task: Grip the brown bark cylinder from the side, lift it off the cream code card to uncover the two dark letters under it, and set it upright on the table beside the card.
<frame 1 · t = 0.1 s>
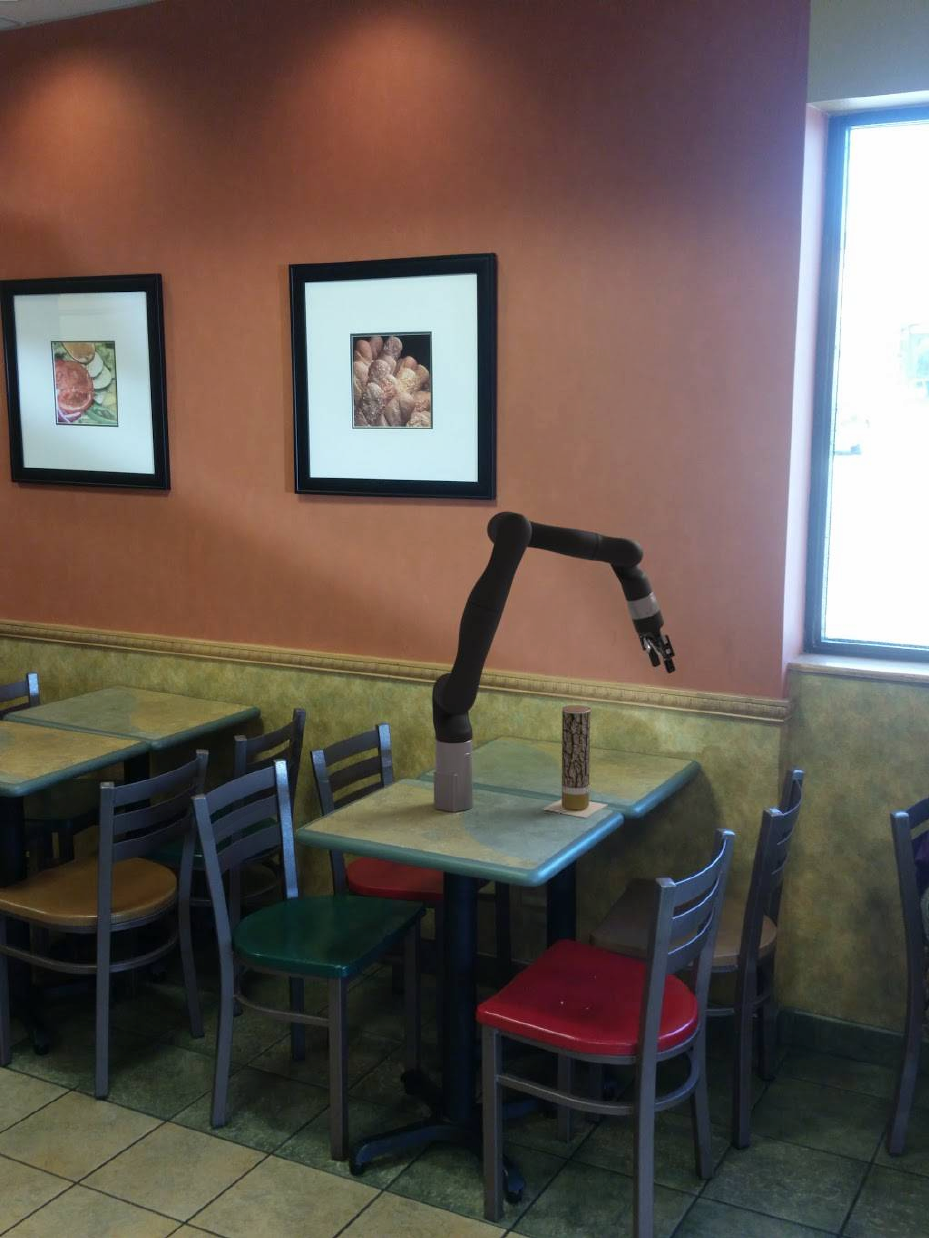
hand: (664, 668, 318), 31 cm above the table, tool tilted 20°, fingers open, 8 cm apart
code card: (575, 807, 305), on the table
brown bark cylinder: (575, 807, 305), resting on code card
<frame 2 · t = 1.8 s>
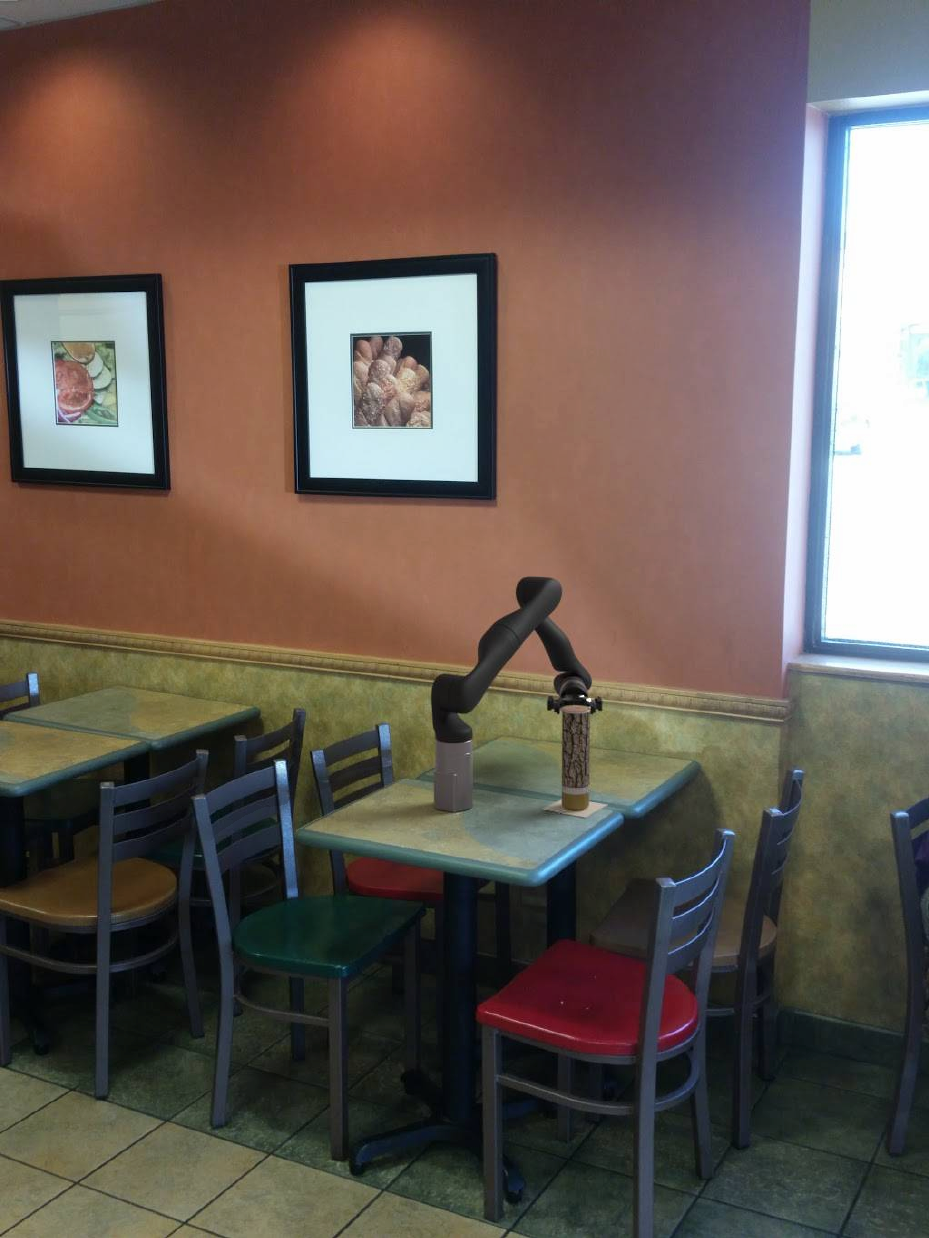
hand: (575, 710, 312), 22 cm above the table, tool horizontal, fingers open, 8 cm apart
nothing on the table moved.
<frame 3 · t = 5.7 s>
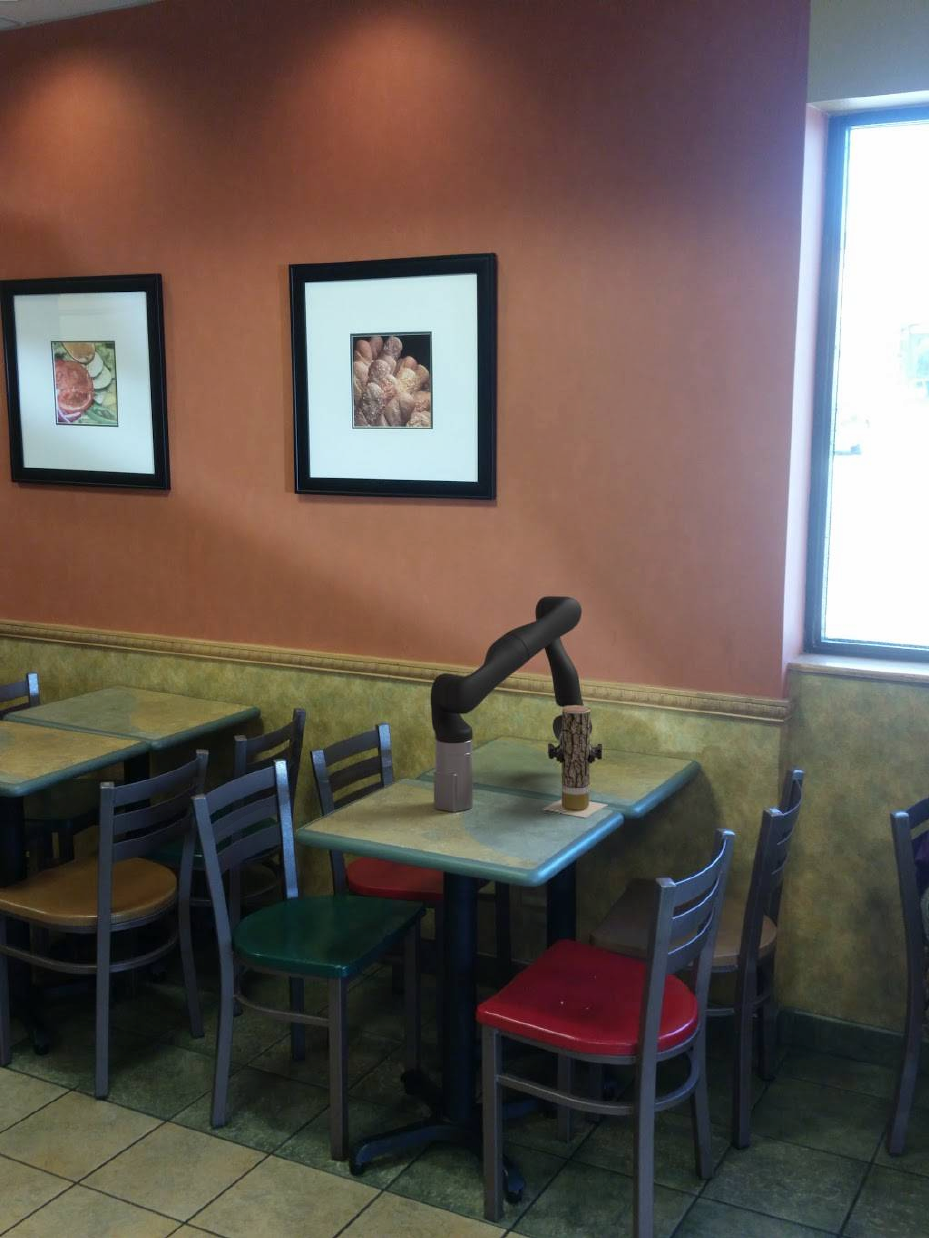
hand: (576, 759, 301), 13 cm above the table, tool horizontal, fingers closed on brown bark cylinder, 7 cm apart
brown bark cylinder: (575, 807, 305), resting on code card, touching gripper
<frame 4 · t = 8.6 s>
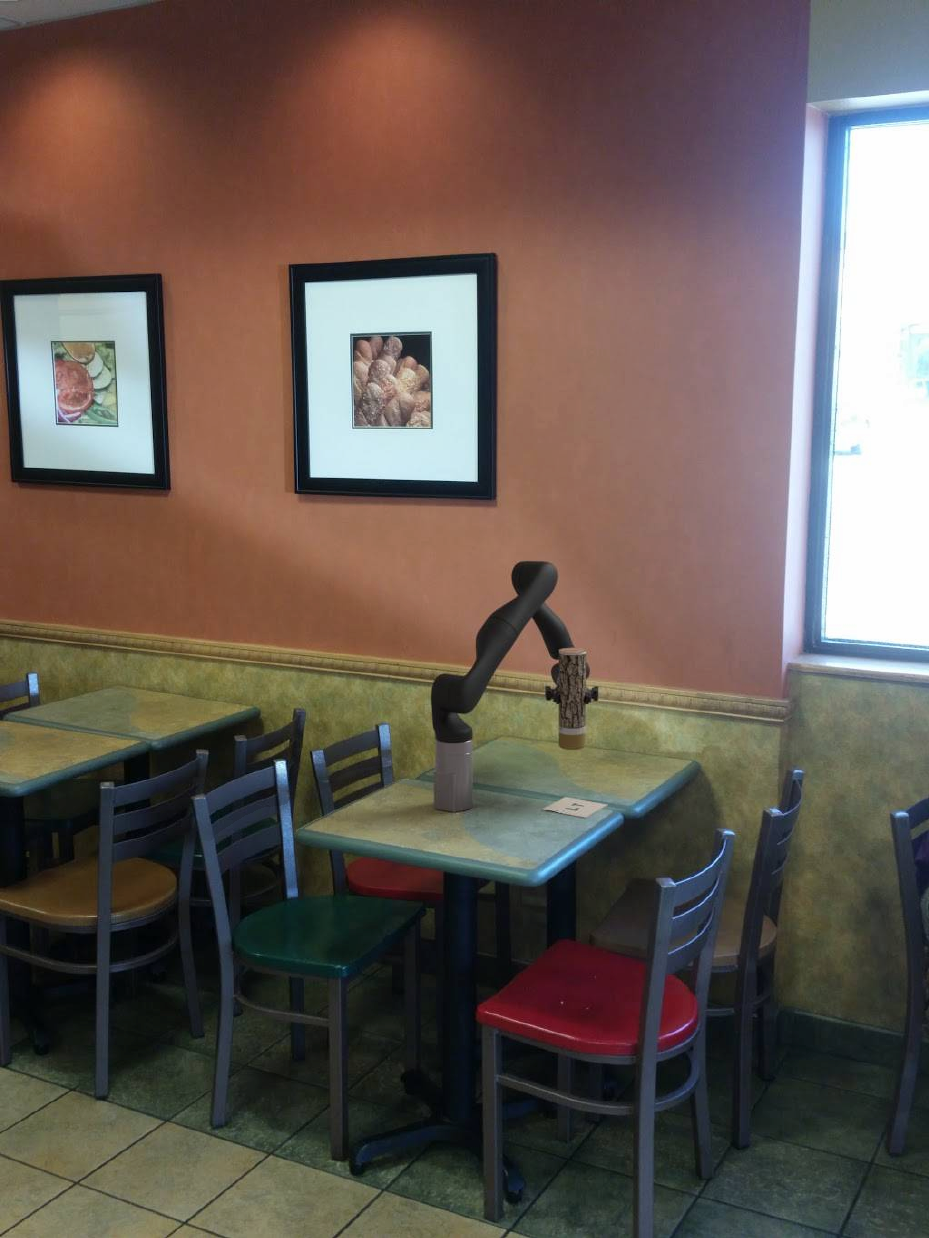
hand: (572, 700, 307), 26 cm above the table, tool horizontal, fingers closed on brown bark cylinder, 7 cm apart
brown bark cylinder: (571, 748, 311), point 13 cm above the table, touching gripper
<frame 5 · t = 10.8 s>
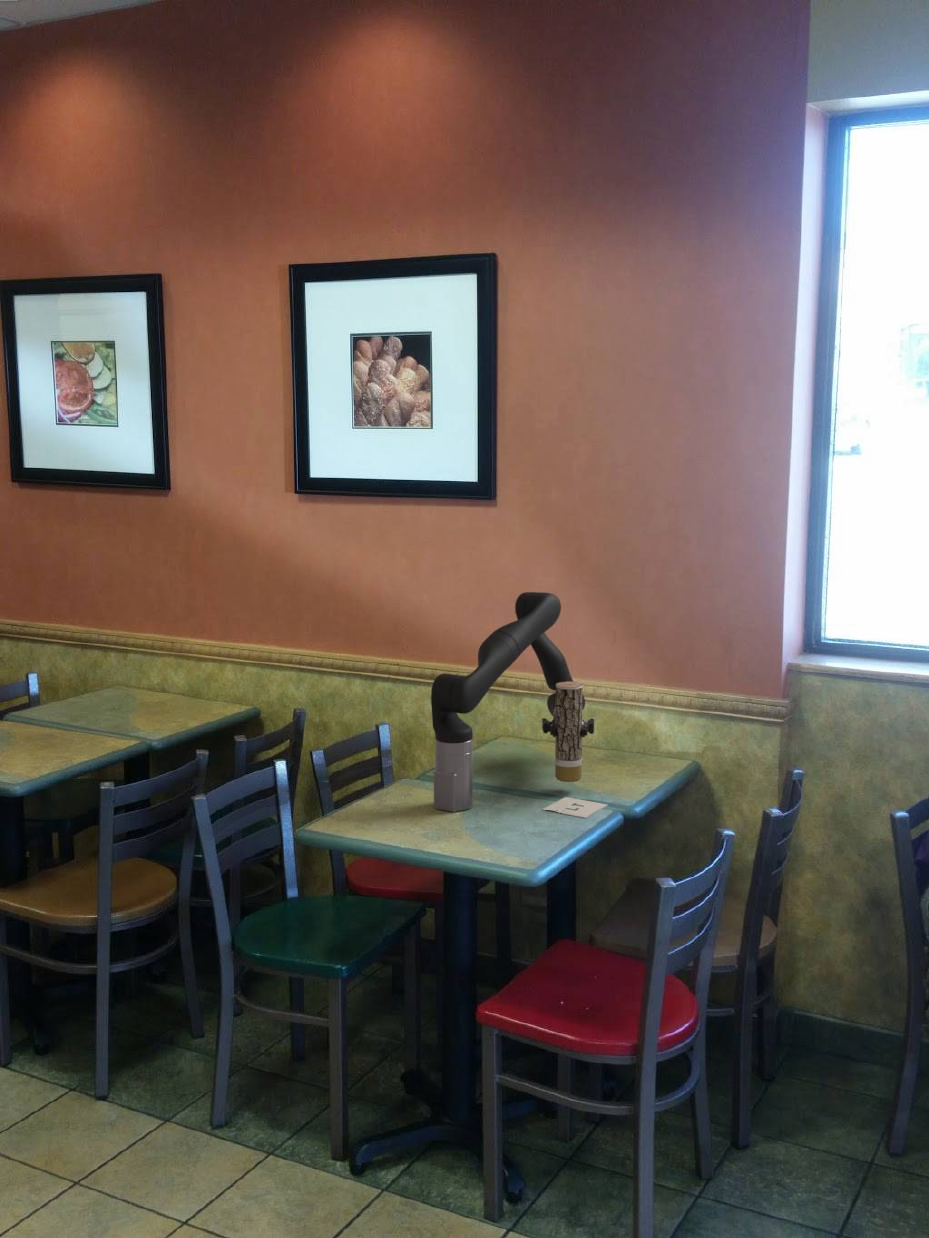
hand: (569, 733, 314), 16 cm above the table, tool horizontal, fingers closed on brown bark cylinder, 7 cm apart
brown bark cylinder: (568, 779, 318), point 3 cm above the table, touching gripper
when the fingers open (14 cm above the table, at t = 11.9 s): brown bark cylinder drops 1 cm, on the table.
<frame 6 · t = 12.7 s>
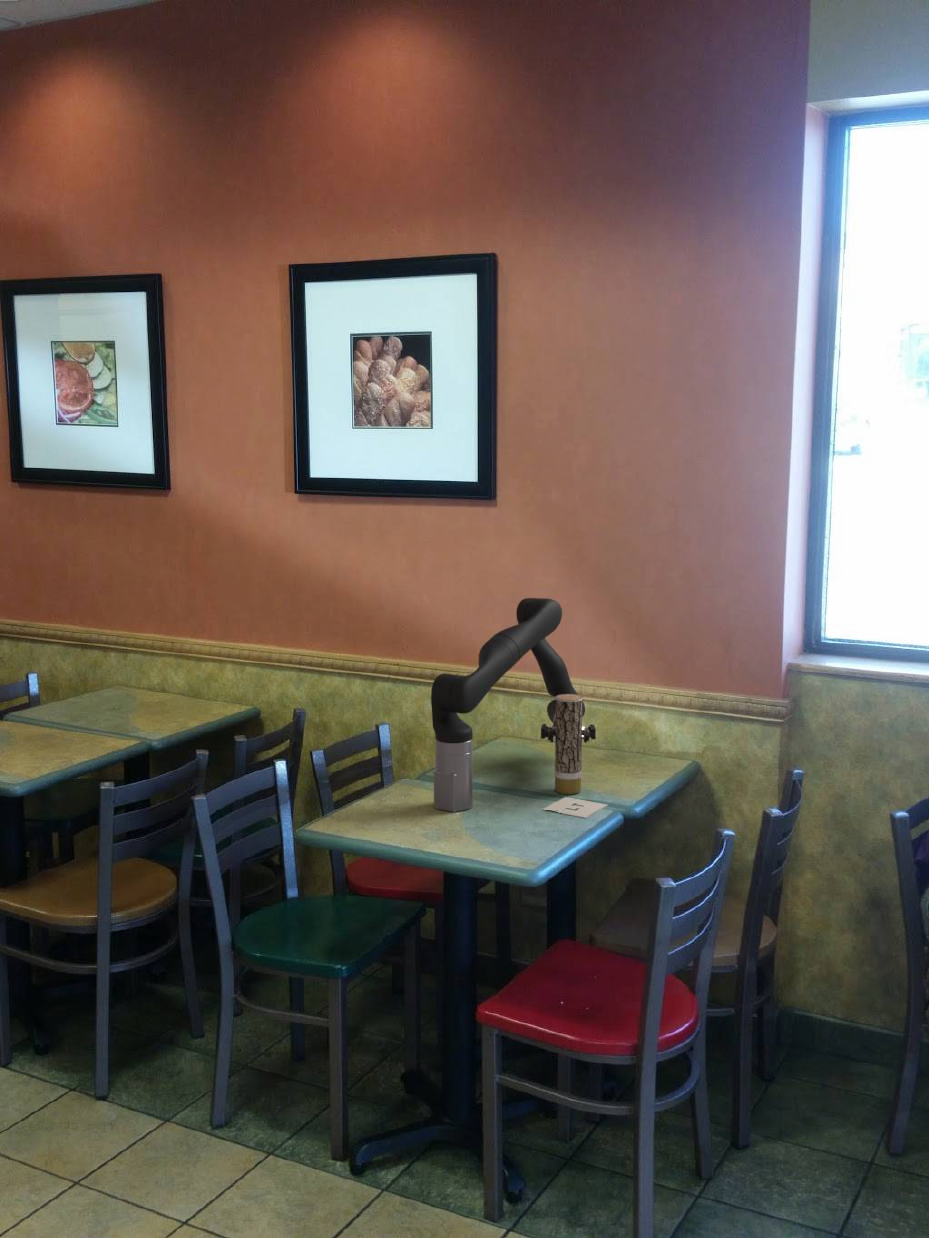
hand: (568, 738, 314), 15 cm above the table, tool horizontal, fingers open, 8 cm apart
brown bark cylinder: (567, 792, 318), on the table
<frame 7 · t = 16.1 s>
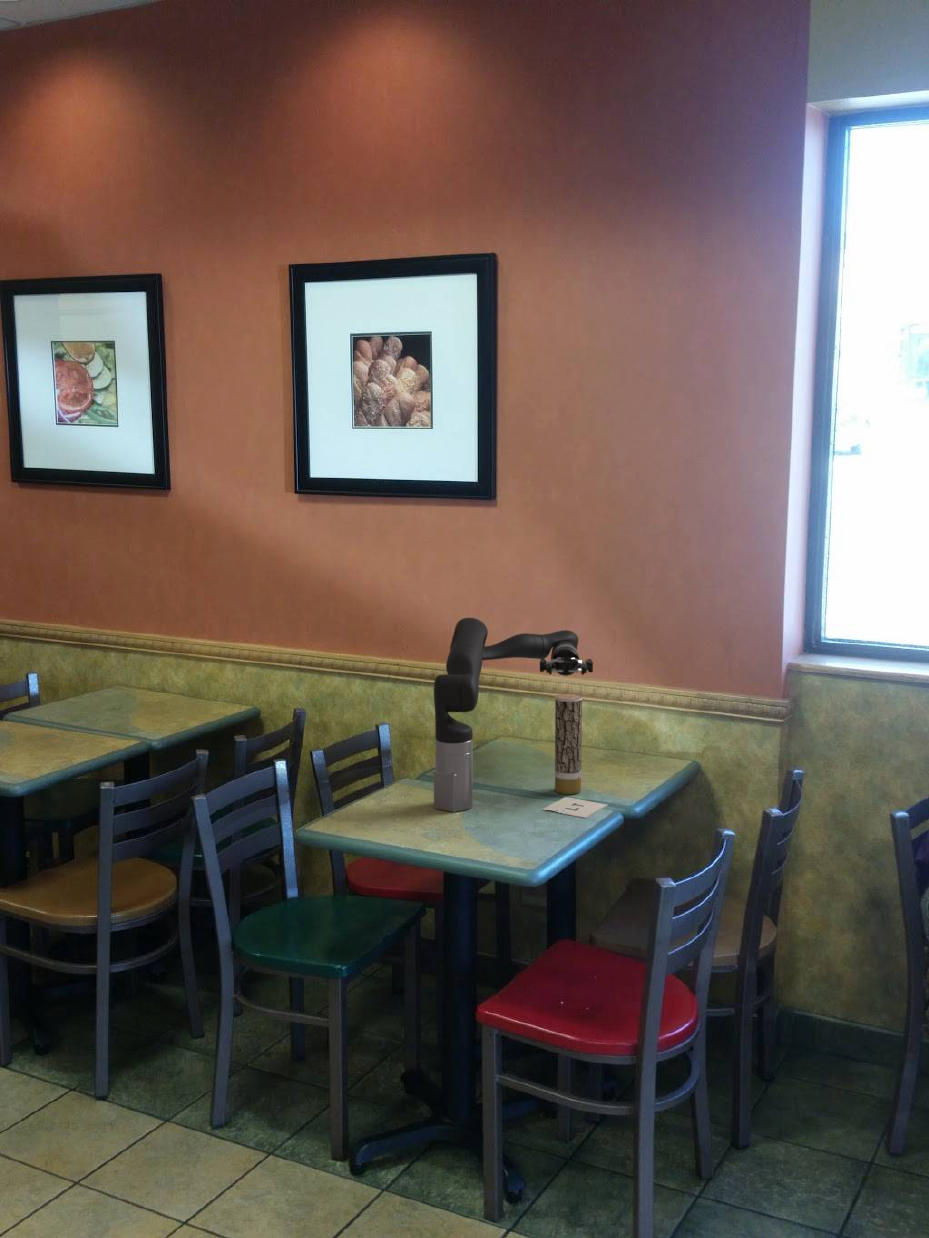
hand: (566, 670, 324), 30 cm above the table, tool horizontal, fingers open, 8 cm apart
nothing on the table moved.
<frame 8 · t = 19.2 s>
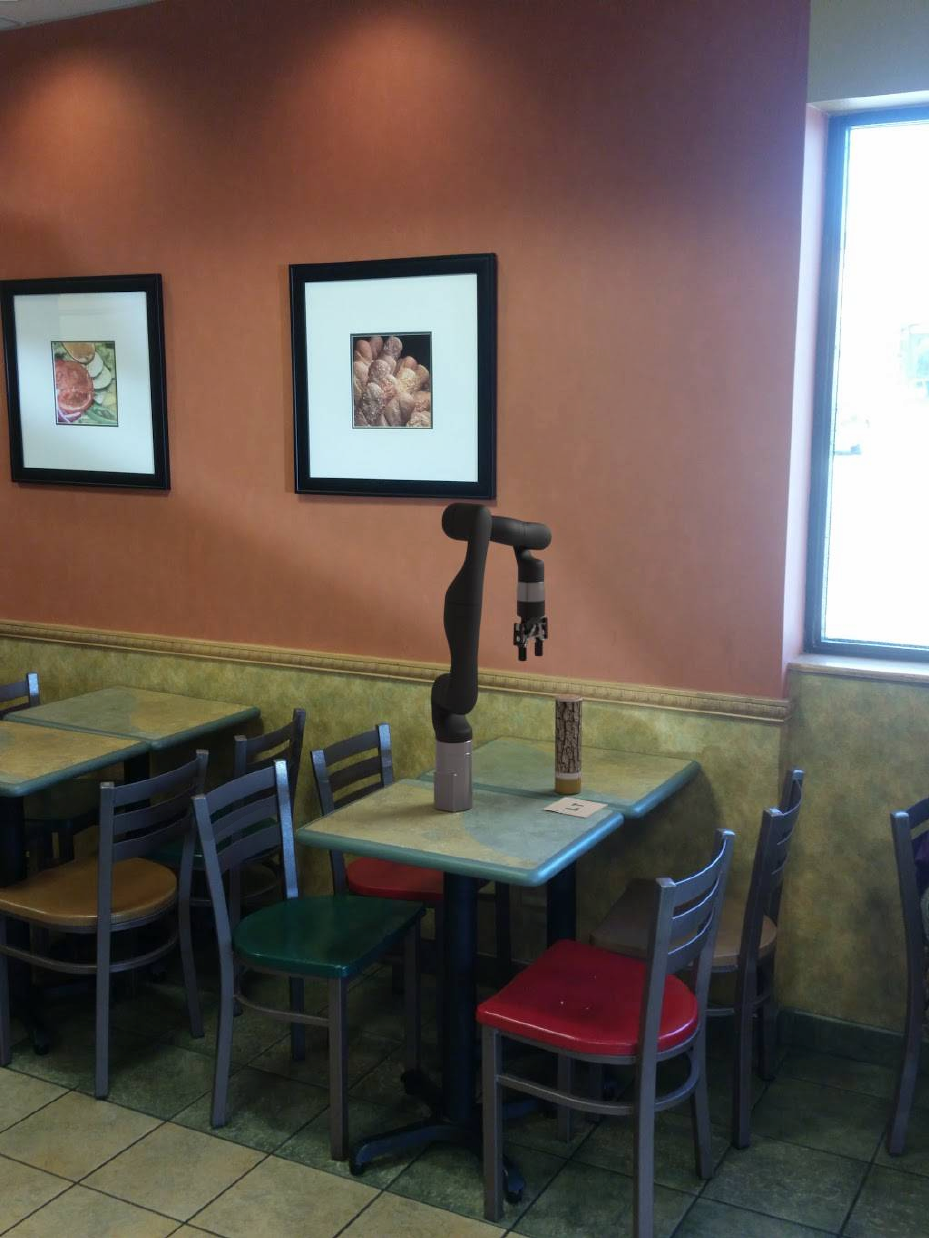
hand: (530, 658, 329), 32 cm above the table, tool pointing down, fingers open, 8 cm apart
nothing on the table moved.
at the end: brown bark cylinder inside the target area on the table beside the code card (0.1 cm from its centre), on the table; brown bark cylinder tilted 0°; brown bark cylinder touching table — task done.
